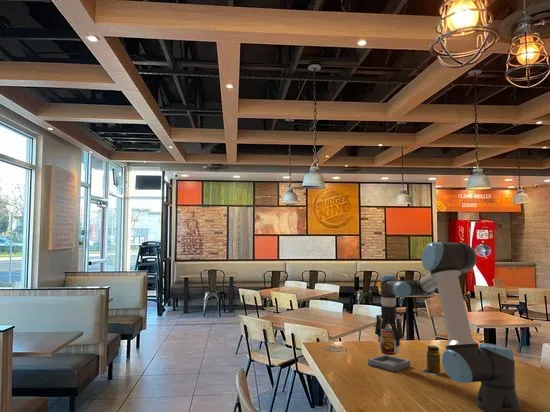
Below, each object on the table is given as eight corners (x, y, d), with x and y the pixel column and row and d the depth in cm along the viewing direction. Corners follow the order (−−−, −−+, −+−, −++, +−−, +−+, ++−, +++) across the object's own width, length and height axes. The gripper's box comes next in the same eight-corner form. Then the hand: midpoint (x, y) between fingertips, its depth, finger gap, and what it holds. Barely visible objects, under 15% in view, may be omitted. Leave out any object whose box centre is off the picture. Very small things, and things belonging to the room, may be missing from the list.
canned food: (379, 353, 210) (379, 329, 211) (383, 350, 217) (382, 327, 218) (395, 356, 206) (395, 331, 207) (398, 352, 213) (398, 328, 214)
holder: (393, 372, 200) (393, 365, 201) (368, 365, 212) (368, 359, 212) (410, 366, 210) (410, 360, 211) (385, 360, 222) (385, 354, 222)
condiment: (444, 372, 201) (443, 347, 202) (433, 375, 197) (432, 349, 198) (431, 368, 207) (430, 344, 208) (420, 371, 203) (419, 346, 204)
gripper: (410, 307, 208) (411, 353, 206) (376, 302, 224) (376, 345, 222) (402, 308, 204) (402, 356, 202) (367, 303, 219) (367, 347, 217)
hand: (388, 350), depth 212 cm, fingers closed on canned food, 8 cm apart
